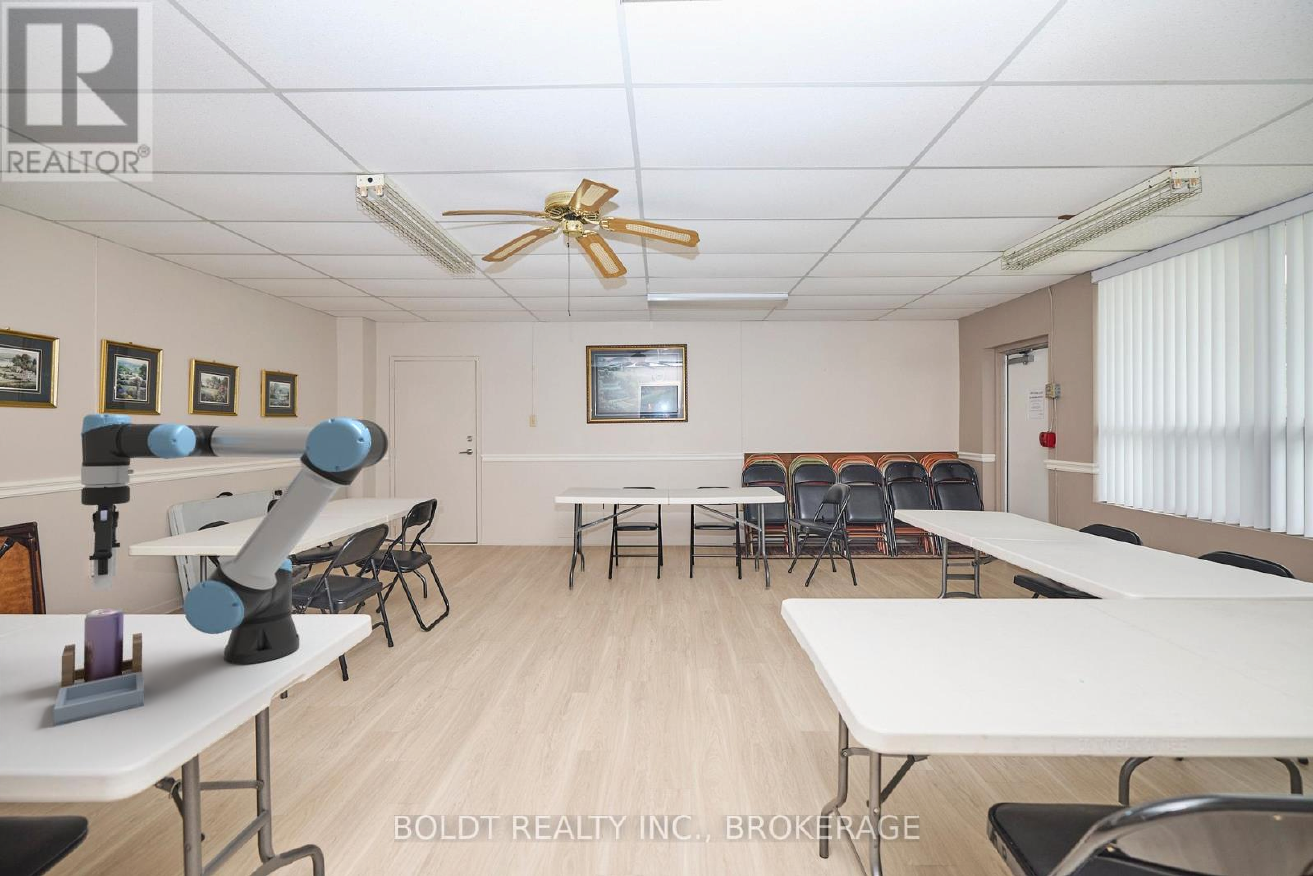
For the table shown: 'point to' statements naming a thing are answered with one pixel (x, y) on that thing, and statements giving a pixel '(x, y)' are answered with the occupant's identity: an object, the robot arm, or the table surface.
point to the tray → (99, 698)
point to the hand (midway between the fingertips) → (105, 584)
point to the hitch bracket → (72, 675)
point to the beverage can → (103, 644)
